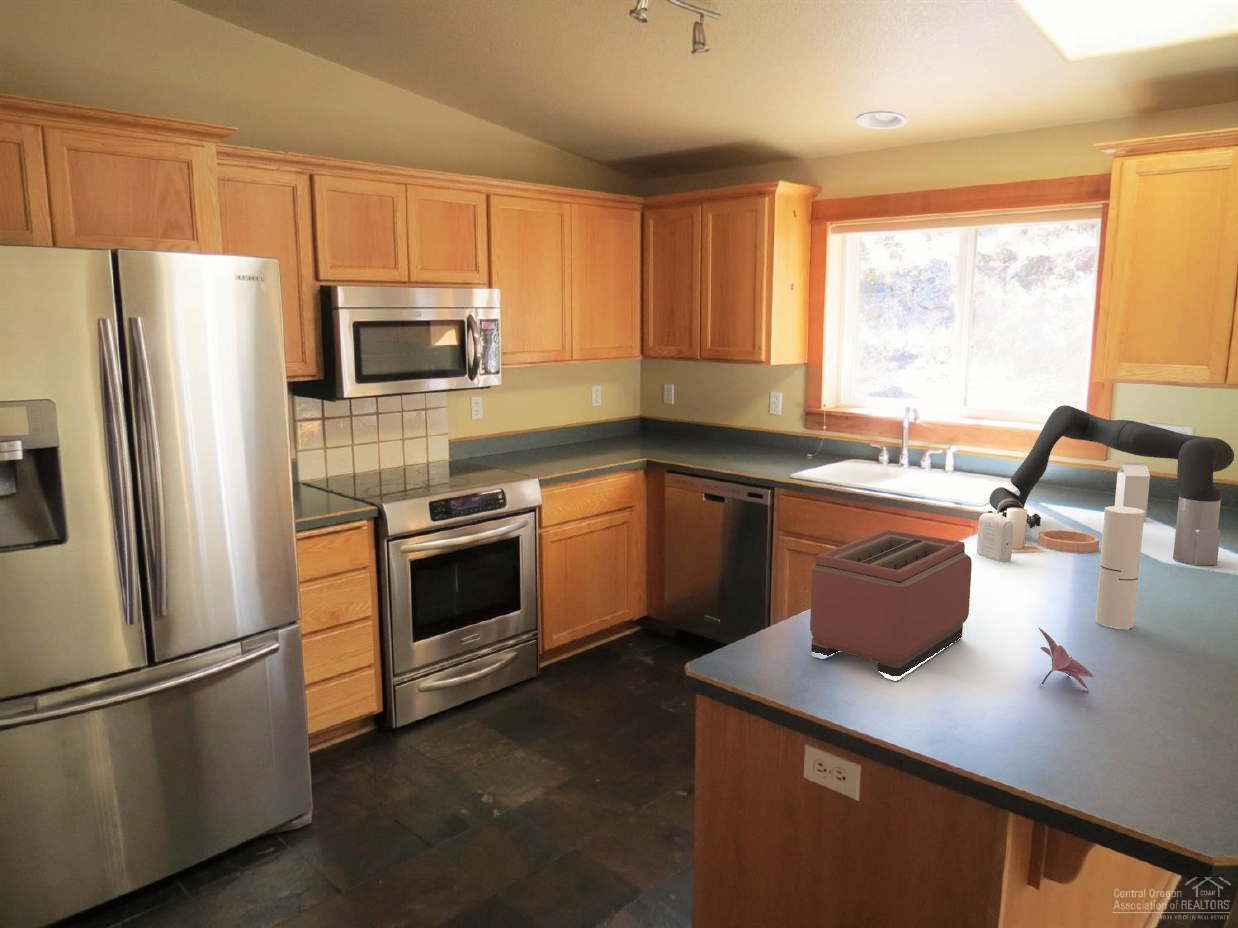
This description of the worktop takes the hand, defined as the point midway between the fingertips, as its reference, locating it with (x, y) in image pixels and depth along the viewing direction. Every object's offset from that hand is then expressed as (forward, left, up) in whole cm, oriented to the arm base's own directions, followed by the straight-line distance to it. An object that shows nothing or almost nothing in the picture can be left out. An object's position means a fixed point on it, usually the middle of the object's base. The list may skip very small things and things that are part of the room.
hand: (1015, 523), depth 243 cm
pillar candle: (-3, +1, -6) cm, 7 cm away
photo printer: (-12, +12, -7) cm, 18 cm away
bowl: (-3, -15, -6) cm, 16 cm away
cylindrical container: (-64, +13, -7) cm, 66 cm away
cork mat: (-3, +1, -6) cm, 7 cm away
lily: (-93, +43, -7) cm, 102 cm away
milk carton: (+27, -55, -7) cm, 61 cm away
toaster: (-70, +65, -7) cm, 96 cm away
